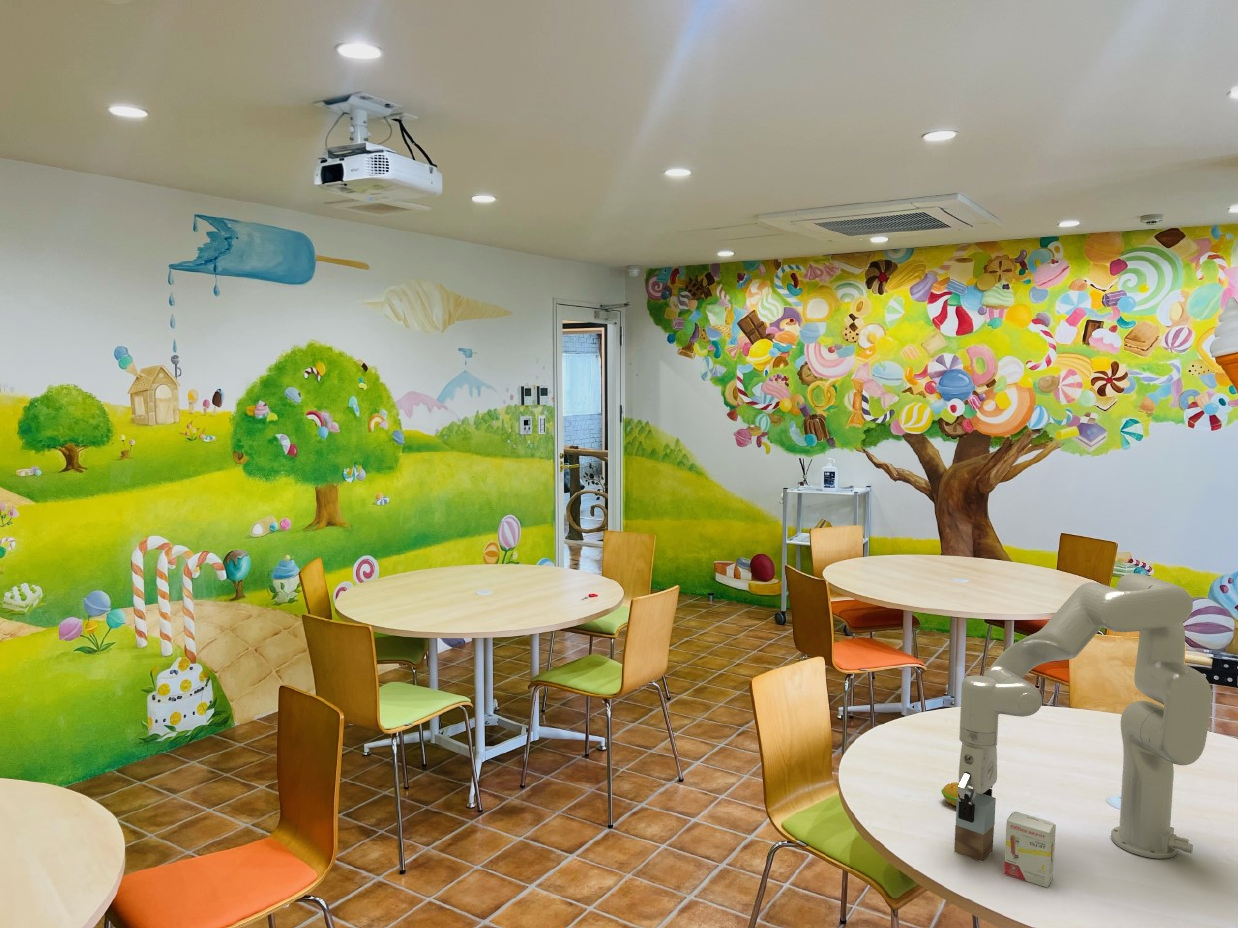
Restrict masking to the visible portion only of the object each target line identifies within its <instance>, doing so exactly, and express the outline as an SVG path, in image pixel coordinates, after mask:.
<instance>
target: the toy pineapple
mask: <svg viewBox="0 0 1238 928" xmlns="http://www.w3.org/2000/svg"><path fill="white" fill-rule="evenodd" d="M958 786H959V782H956V781H954V782H951V783H949V782H948V784H945V786H943V788H942V789H941V791H940V792H941V794H942V796H943V798H944V799H945V801H946V802H948V803H949V804H951V805H952V806H955V807H956V806H957V798H958ZM967 787H968V788H970V786H967Z"/></svg>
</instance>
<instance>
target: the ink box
mask: <svg viewBox="0 0 1238 928" xmlns="http://www.w3.org/2000/svg"><path fill="white" fill-rule="evenodd" d="M1005 825H1006V828H1005V844H1004V845H1005V848H1004V870H1003V874H1004V875H1006V876H1009V877H1013V878H1016V879H1018V880H1022V881H1024V882H1029V883H1031V884H1034V885H1037V886H1041V887H1044V888H1048V887H1049V886H1050V884H1051V882H1052V880H1053V878H1054V877H1053V876H1054V875H1053V874H1054V863H1055V861H1054V860H1055V848H1056V847H1055V846H1056V829H1057V826H1056V824H1055V822H1053V821H1050V820H1046V819H1042V818H1039V817H1036V816H1034V815H1033V816H1032V815H1029V814H1027V813H1022V812H1019V811H1012V813H1010V815H1009V816H1008V817H1007V819H1006V823H1005Z"/></svg>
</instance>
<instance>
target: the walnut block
mask: <svg viewBox="0 0 1238 928" xmlns="http://www.w3.org/2000/svg"><path fill="white" fill-rule="evenodd" d="M954 827H955V828H954V848H953V849H954V850H953V851H954V853H957V854H960V855H962V856H964V855H965V856H964V857H968V858H970V859H973V860H977V861H979V862H982V863H983V862H984V861H985V860H986V859H987V858H988V857H989V856H990V855H991V854H992V853H993V852H994V837H995V825H994V826H993V827H992V828H991V829H990V830H988V831H987V832H986V833H985V834H984V835H983V834H980V833H977V832H974V831H971V830H968V829H965V828H963V827H960V826H957V825H956V824H955V825H954Z"/></svg>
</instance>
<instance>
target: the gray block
mask: <svg viewBox="0 0 1238 928" xmlns="http://www.w3.org/2000/svg"><path fill="white" fill-rule="evenodd" d="M966 794H968V795H969V797H970V796H971V793H970V792H967V791H966ZM958 798H959V797H958ZM958 798H957V806H955V807H956V808H955V809H956V810H955V825H957V826H960V827H963V828H965V829H968V830H971V831H974V832H977V833H980V834H983V835H984V834H985V833H986V832H987V831H988V830H990V829H991V828H992V827H993V826H994V827H995V820H996V801H997V799H996V797H994V796H992V797H991V796H988V795H985V794H981V795H980V794H978V793H976V795H975V798H974V802H973V804H975V815H974V822H973V823H971V822H968V821H965V820H962V819H959V818H958V809H959V801H958Z"/></svg>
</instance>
